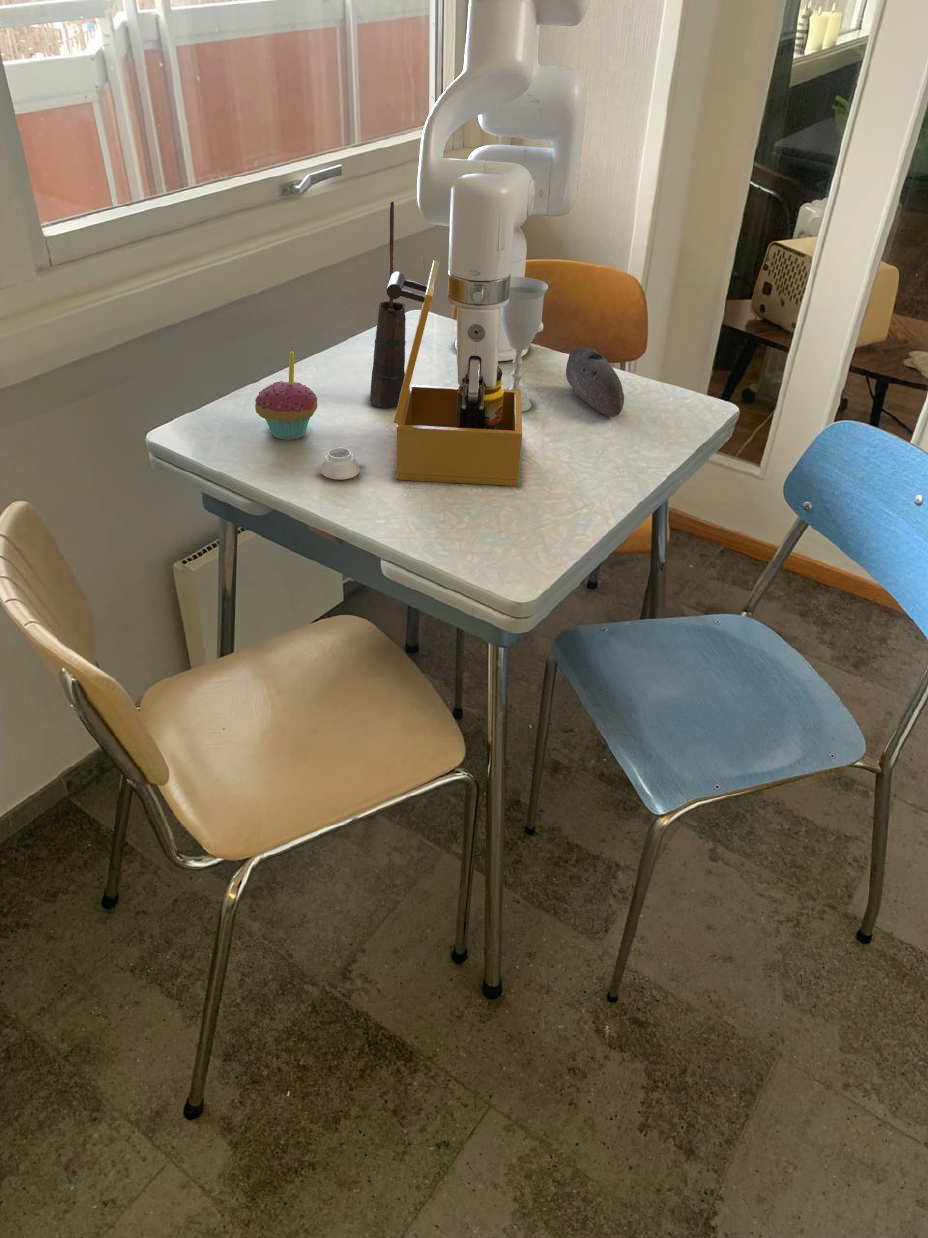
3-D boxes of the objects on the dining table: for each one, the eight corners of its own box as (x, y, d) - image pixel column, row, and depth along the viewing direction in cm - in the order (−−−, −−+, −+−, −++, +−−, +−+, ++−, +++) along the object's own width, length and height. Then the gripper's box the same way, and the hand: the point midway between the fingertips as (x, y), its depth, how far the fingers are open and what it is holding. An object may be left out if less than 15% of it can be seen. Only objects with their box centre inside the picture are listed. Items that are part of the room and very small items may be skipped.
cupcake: (285, 415, 134) (278, 334, 126) (332, 430, 130) (328, 347, 123) (245, 436, 128) (236, 352, 120) (293, 452, 124) (286, 367, 117)
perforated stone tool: (632, 424, 136) (639, 379, 132) (600, 427, 134) (606, 382, 130) (591, 384, 147) (596, 342, 143) (560, 387, 146) (565, 344, 142)
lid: (439, 261, 116) (398, 249, 115) (432, 296, 105) (386, 282, 104) (409, 381, 126) (370, 370, 125) (399, 424, 115) (357, 413, 114)
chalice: (545, 411, 138) (557, 290, 127) (503, 417, 136) (512, 294, 125) (524, 392, 144) (534, 275, 133) (484, 397, 141) (491, 278, 131)
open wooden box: (517, 439, 130) (521, 389, 126) (517, 486, 119) (522, 433, 115) (406, 433, 130) (406, 383, 126) (396, 479, 119) (396, 427, 115)
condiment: (502, 466, 122) (508, 380, 114) (438, 463, 122) (440, 376, 114) (502, 441, 127) (507, 358, 120) (441, 438, 127) (443, 355, 120)
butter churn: (408, 421, 134) (409, 217, 117) (347, 411, 135) (339, 209, 119) (427, 397, 141) (430, 202, 124) (369, 388, 143) (364, 194, 126)
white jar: (313, 472, 120) (339, 486, 117) (311, 452, 118) (338, 465, 116) (341, 460, 123) (367, 472, 121) (340, 440, 121) (367, 452, 119)
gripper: (509, 312, 104) (500, 456, 115) (509, 268, 118) (500, 399, 129) (444, 309, 104) (440, 453, 115) (451, 265, 118) (447, 397, 129)
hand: (472, 423), depth 122 cm, fingers closed on condiment, 6 cm apart
